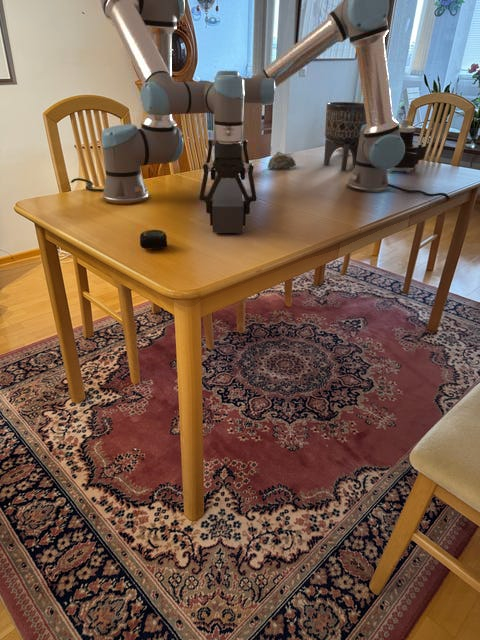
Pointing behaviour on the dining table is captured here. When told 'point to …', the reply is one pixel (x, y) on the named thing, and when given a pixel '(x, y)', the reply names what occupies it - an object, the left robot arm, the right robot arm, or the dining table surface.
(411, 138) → the mechanical component
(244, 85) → the right robot arm
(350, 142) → the planter
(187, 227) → the dining table surface
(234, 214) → the long gray bar
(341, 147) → the figurine
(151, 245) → the tape measure
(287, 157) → the rock
